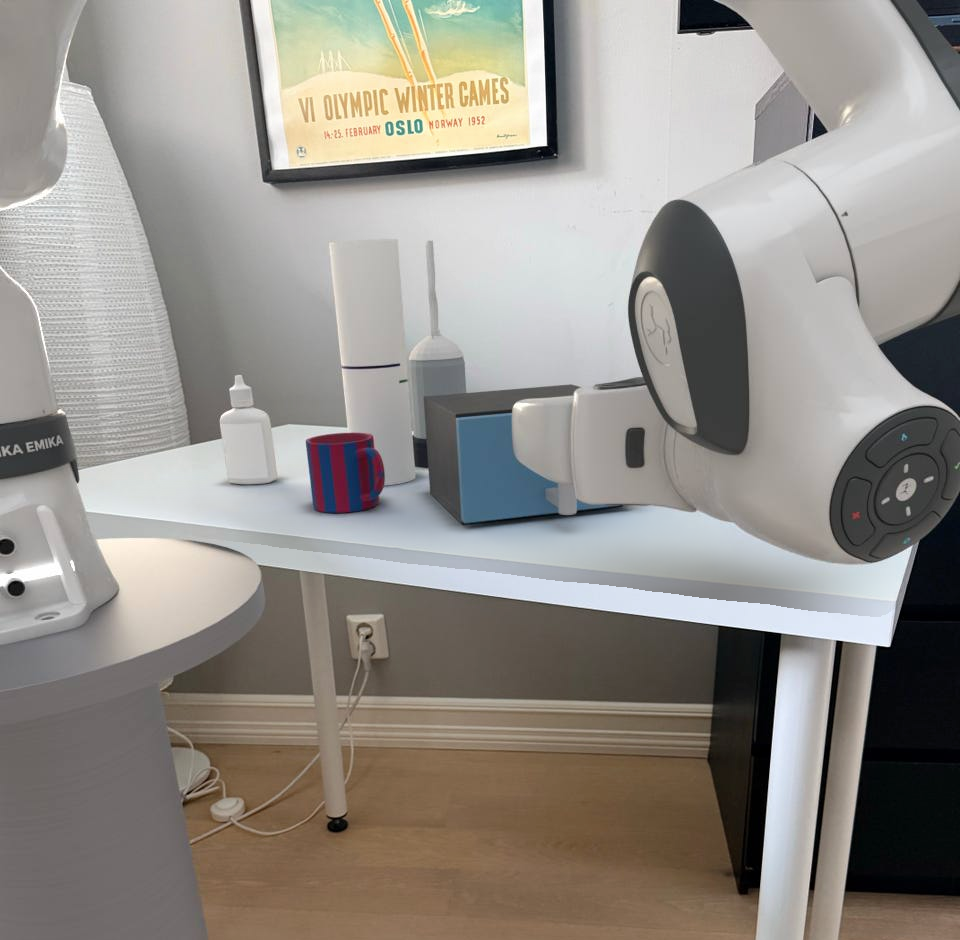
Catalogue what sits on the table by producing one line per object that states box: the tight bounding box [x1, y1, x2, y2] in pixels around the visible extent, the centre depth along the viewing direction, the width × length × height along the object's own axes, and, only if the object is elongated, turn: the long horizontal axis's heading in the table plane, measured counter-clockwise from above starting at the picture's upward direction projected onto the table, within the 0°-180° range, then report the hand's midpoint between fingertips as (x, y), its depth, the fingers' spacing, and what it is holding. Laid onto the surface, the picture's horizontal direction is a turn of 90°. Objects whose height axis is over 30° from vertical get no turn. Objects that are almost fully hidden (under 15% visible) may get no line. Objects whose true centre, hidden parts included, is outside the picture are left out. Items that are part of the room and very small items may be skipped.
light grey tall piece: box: [407, 240, 467, 468], centre depth 110 cm, size 8×8×25 cm
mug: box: [305, 432, 385, 514], centre depth 92 cm, size 7×10×7 cm
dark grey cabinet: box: [424, 384, 624, 525], centre depth 92 cm, size 14×16×10 cm
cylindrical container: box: [328, 238, 416, 486], centre depth 101 cm, size 7×7×25 cm
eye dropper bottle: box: [219, 374, 278, 485], centre depth 106 cm, size 4×6×12 cm
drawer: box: [456, 413, 621, 524], centre depth 87 cm, size 19×16×9 cm
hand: (625, 406), depth 66 cm, fingers open, 8 cm apart
